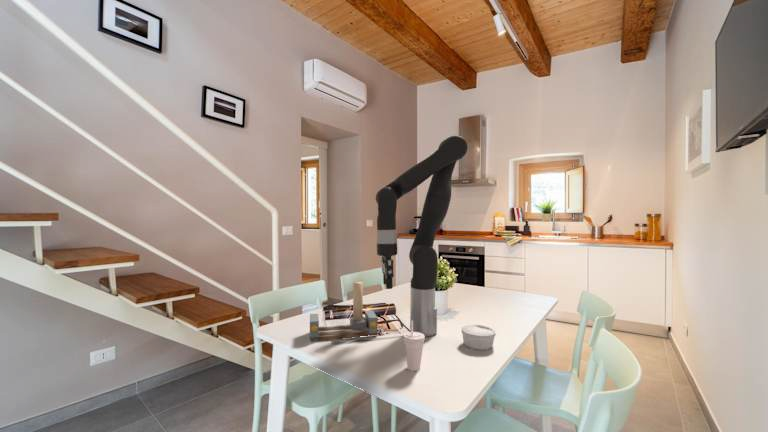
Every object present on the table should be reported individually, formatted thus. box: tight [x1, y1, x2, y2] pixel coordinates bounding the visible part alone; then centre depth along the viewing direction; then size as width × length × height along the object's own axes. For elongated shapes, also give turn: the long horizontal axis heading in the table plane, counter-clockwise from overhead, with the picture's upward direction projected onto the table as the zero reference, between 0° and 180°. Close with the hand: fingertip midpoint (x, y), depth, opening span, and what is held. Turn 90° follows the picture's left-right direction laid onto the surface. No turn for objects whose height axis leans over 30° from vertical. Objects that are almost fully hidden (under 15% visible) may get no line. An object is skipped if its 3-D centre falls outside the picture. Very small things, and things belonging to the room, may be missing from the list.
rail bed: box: [312, 324, 378, 342], centre depth 128 cm, size 24×9×2 cm, turn 103°
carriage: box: [349, 281, 366, 330], centre depth 129 cm, size 5×7×16 cm
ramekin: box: [461, 324, 496, 351], centre depth 119 cm, size 11×11×5 cm
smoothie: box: [402, 320, 426, 372], centre depth 101 cm, size 6×6×14 cm
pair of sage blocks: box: [309, 310, 378, 342], centre depth 127 cm, size 24×9×7 cm, turn 103°
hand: (387, 286), depth 126 cm, fingers open, 8 cm apart
